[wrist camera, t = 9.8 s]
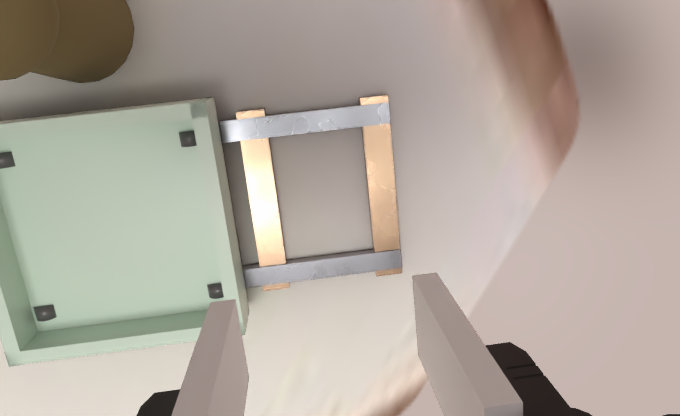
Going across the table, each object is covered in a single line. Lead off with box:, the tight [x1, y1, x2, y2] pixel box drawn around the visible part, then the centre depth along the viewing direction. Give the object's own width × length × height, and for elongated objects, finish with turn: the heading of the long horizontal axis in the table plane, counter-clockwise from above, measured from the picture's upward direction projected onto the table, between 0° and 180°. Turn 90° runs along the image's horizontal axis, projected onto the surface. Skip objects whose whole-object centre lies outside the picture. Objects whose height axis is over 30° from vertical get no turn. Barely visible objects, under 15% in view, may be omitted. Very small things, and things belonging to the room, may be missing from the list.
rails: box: [218, 95, 402, 291], centre depth 32 cm, size 11×23×1 cm, turn 96°
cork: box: [0, 0, 134, 83], centre depth 24 cm, size 6×6×11 cm
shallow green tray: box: [0, 97, 249, 366], centre depth 30 cm, size 13×13×3 cm
